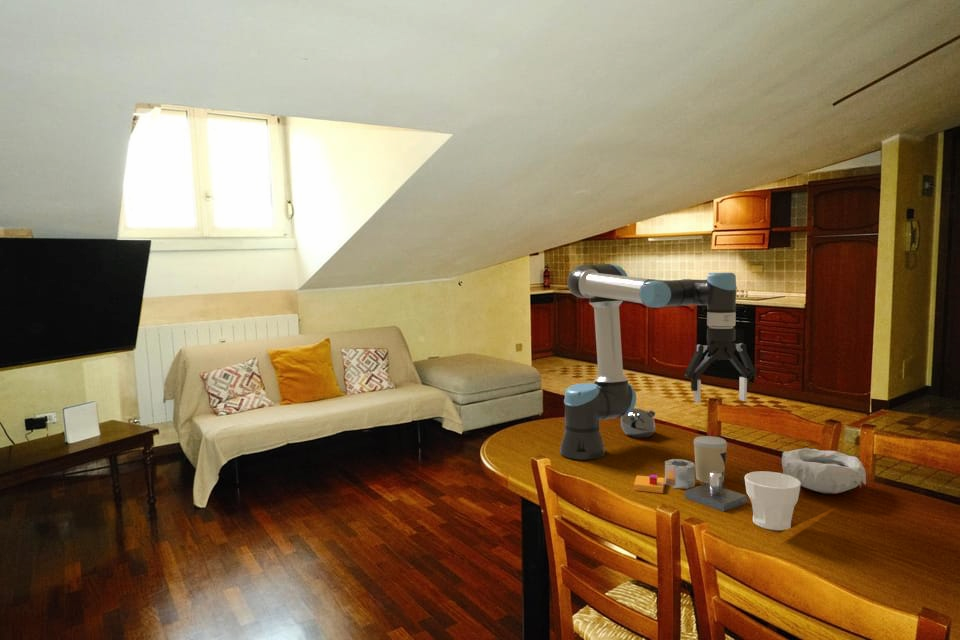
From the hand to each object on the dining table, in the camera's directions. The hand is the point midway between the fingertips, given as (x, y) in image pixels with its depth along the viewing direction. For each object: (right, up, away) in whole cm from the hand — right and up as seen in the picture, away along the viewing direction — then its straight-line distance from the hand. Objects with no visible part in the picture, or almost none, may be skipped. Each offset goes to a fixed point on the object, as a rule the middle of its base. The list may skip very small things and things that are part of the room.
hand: (720, 401), depth 171 cm
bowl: (+27, -25, -3) cm, 37 cm away
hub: (-10, -25, +4) cm, 27 cm away
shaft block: (-5, -26, -9) cm, 28 cm away
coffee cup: (0, -25, +7) cm, 26 cm away
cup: (+3, -27, -24) cm, 36 cm away
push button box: (-20, -26, +2) cm, 32 cm away
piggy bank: (-10, -21, +51) cm, 56 cm away
